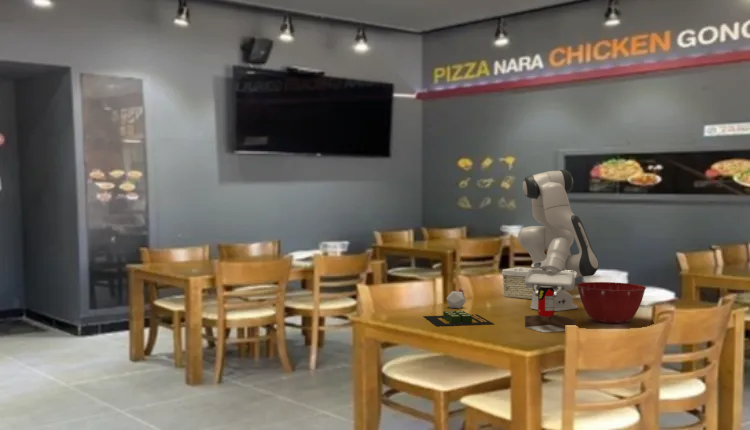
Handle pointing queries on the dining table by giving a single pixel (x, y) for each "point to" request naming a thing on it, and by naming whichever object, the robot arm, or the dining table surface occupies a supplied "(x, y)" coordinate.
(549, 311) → the beverage can
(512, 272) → the storage basket
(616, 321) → the mixing bowl
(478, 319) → the sushi
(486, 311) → the dining table surface
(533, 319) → the corner fence
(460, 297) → the die
